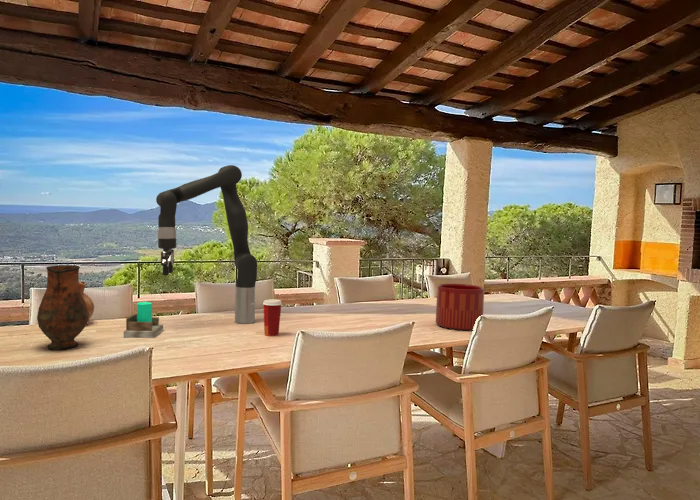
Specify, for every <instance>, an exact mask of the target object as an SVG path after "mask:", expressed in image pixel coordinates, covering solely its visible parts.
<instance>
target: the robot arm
mask: <svg viewBox="0 0 700 500" xmlns="http://www.w3.org/2000/svg"><path fill="white" fill-rule="evenodd" d="M242 173H243V172H242V170H241V169H240V168H239V166H236V165H233V164H231V165H229V164H228V165H226V166H222V167H221V168H220V169H218V172H215V173H214V174H211V175H209V176H206V177H203V178H199V179H195V180H192V181H189V182H186V183H184V184H182V185H179V186H177V187H174V188H171V189H167V190H164V191H161V192H159V193H158V194H157V195H156V199H155V201H156V203H157V205H158V206H159V207H160V210H159V211H160V212H159V215H158V218H157V219H158V224H157V225H158V229H157V241H158V242H157V246H158V247H157V248H159V249H163V250H162V251H160V266H161V267H162V275H163V276H169V274H173V273H174V267H173V266H174V263H175V250H174V249H176V248H177V229H176V213H177V207H178V205H177V204H178V203H180V202H181V203H182V202H186V201H190V200H192V199H194V198H197V197H199V196H201V195H204V194H206V193H208V192H212V191H213V190H215V189H218V188H219V189H221V190H220V191H221V194H222V197H223V204H224V208H225V209H224V210H225V215H226V222H227V226H228V230H229V234H230V239H231V242H232V247H233V256H234V257H233V259H234V265H235V267H236V269H237V278H236V280H235V290H234V292H235V295H234V296H235V297H234V301H235V303H234V304H235V305H234V323H236V324H243V325H244V324H255V318H256V317H255V316H256V301H255V300H256V282H257V278H258V262H257V261H258V260H257V258H256V257H255V255H253V254H251V251H250V246H249V241H248V238H249V237H248V236H249V223H248V217H247V212H246V208H245V207H244V205H243V203H242V201H241V199H240V196H239V194H238V188H237V184H238V183H240V181H241V180H242V177H243V176H242V175H243V174H242Z"/></svg>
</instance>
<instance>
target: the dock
mask: <svg viewBox="0 0 700 500" xmlns="http://www.w3.org/2000/svg"><path fill="white" fill-rule="evenodd" d="M125 322H126V323H125V325H126V326H125V329H124V331H123V338H125V339H127V338H130V339H131V338H132V339H134V338H137V339H138V338H140V339H141V338H143V339H144V338H145V339H155V338H156V337H157V336H158V335H159V334H161V333H162V332H163V331H164V324H160V318H159V316H157V317H156V316H152V322H137V313H134V314H132V315H130V316H128V317H127V318H126V319H125Z"/></svg>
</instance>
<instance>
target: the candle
mask: <svg viewBox="0 0 700 500" xmlns="http://www.w3.org/2000/svg"><path fill="white" fill-rule="evenodd" d="M136 314H137V322H152V317H153V303H152V302H149V301H141V302H140V301H139V302H137V303H136Z"/></svg>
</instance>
